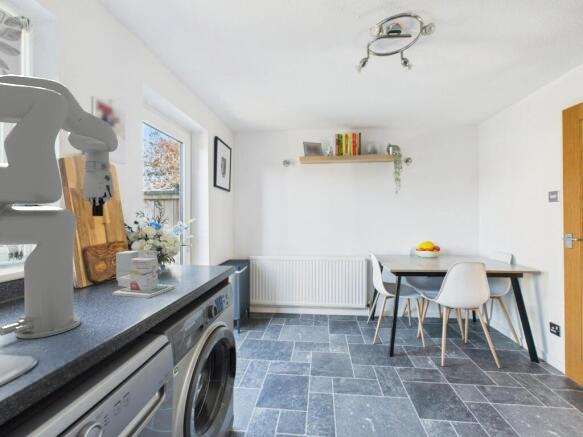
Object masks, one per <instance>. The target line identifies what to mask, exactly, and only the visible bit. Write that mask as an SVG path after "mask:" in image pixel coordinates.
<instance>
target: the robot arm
mask: <svg viewBox="0 0 583 437" xmlns="http://www.w3.org/2000/svg"><path fill="white" fill-rule="evenodd" d="M0 123H4V124H5V123H7V124H15V125H14V126H13V127H12V128H11V130H10V131H9V132H8V133H7V135H6V137H5V139H4V142H3V148H4V152H5V157H6V161H7V163H0V245H3V246H8V245H9V246H10V245H13V246H14V245H35V247H34V249H32V251H31V252H30V253H29V254H28V256H27V257H26V259H25V261H24V264H23V271H24V272H23V273H24V274H23V276H24V277H23V279H24V282H23V283H24V284H23V285H24V286H23V287H24V315H21V316H19V317H18V319H19V320H16V321H15V323H12V324H8V325H7V324H6V325H4V326H1V327H0V336H5V335H8V334H11V333H14V334H15V337H17V338H19V339H23V340H24V339H27V340H28V339H40V338H45V337H51V336H55V335H59V334H62V333H65V332H68V331H71V330H73V329H75V328H76V327H78V326H79V325H80V324H81V323H82V318H81V317H80V316H78V315H75V312H74V305H75V304H74V303H75V302H74V299H75V298H74V246H75V245H74V244H75V239H76V234H77V228H78V218H77V216H76V214H75V213H74V212H73V211H72V210H69V209H67V208H63V207H60V206H13V205H49V204H54V203H57V202H58V201H59V200H61V199H62V196H63V185H62V179H61V174H60V169H59V166H58V165H59V164H58V161H57V155H56V147H55V146H56V140H57V137H58V135H59V133H60V131H61V130H63V131H65V132H67V133H68V134H67V140H68V143H69V144H70V146H71V147H73V149H75V150H77V151H81V152H84V174H83V181H82V183H83V184H82V193H83V194H82V195H83V197H84V198H85V199H84V201H86V202H89V203H90V206H91V216H92V217H103V216H104V206H105V203H106V202H109V201H110V200H111V198H112V197H113V196H114V184H113V177H112V174H111V172H110V156H109V155H110V153H113V152H115V151H116V150H117V149H118V146H119V140H118V136H117V135H116V134H117V133H116V132H115V131H114V129H113V128H112V126H111V125H110V124H109V123H108V122H107V121H105V120H103V119H101V118H100V117H97V116H96V115H94V114H92V113H89V112H87V111H85V110H84V109H83V107H82V106H81V105H80V103H79V102H78V100H77V99H76V97H75V96H74V95H73V94H72V92H71V91H70V89H69V88H68V87H67V86H66V85H64V84H63V83H61V82H59V81H57V80H53V79H48V78H42V77H33V76H27V75H25V76H24V75H18V74H5V75H0Z"/></svg>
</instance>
